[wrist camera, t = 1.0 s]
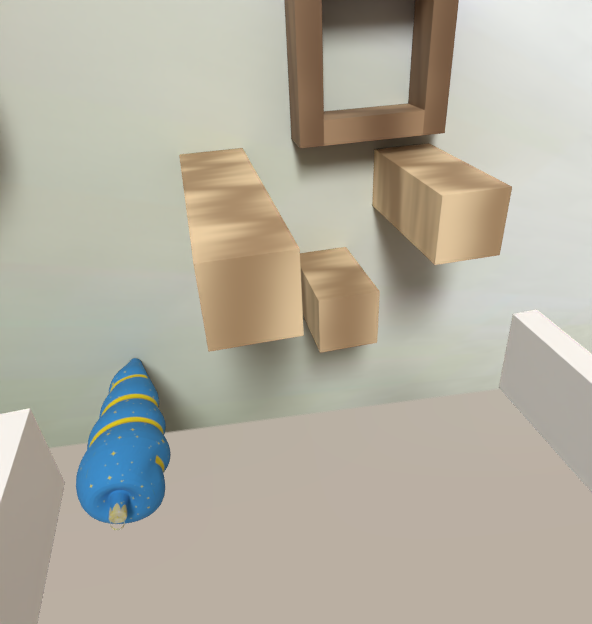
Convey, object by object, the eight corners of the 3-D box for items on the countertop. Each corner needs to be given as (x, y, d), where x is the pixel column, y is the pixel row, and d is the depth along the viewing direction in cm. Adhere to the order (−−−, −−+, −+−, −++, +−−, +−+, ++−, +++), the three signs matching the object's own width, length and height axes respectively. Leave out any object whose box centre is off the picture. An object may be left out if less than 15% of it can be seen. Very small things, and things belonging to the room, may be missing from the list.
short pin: (296, 300, 39) (320, 352, 34) (293, 254, 37) (318, 301, 31) (345, 293, 40) (376, 342, 34) (345, 247, 38) (379, 291, 32)
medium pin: (372, 205, 37) (434, 264, 28) (374, 149, 35) (442, 195, 26) (423, 198, 37) (499, 254, 29) (428, 143, 35) (512, 186, 27)
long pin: (189, 214, 34) (208, 351, 21) (179, 154, 32) (193, 264, 19) (248, 207, 35) (303, 335, 21) (242, 148, 33) (299, 248, 19)
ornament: (160, 390, 41) (161, 561, 28) (92, 383, 39) (61, 562, 27) (173, 337, 39) (180, 497, 26) (102, 327, 37) (73, 494, 24)
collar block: (291, 139, 33) (300, 148, 31) (282, -39, 28) (292, -42, 26) (427, 125, 35) (444, 132, 32) (442, -45, 29) (463, -49, 27)
